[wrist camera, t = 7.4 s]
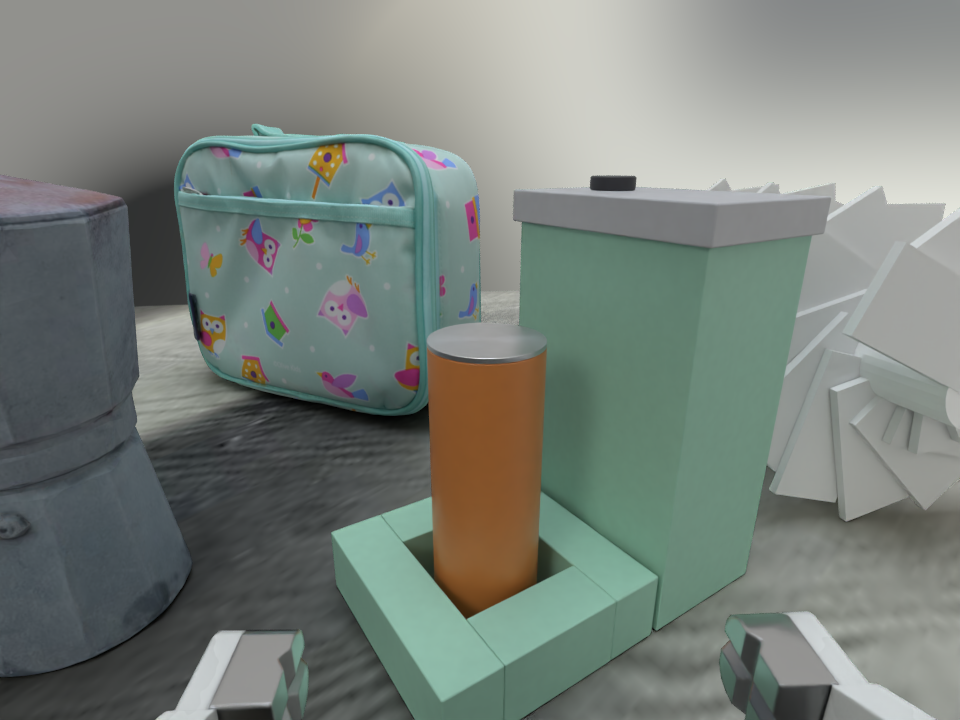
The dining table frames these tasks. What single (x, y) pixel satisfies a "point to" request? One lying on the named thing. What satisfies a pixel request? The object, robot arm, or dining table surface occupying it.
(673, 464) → the pet feeder tower
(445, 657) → the square frame
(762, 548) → the dining table surface
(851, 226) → the spiral staircase
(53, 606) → the moka pot
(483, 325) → the orange silver-capped cylinder
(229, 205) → the lunch box
